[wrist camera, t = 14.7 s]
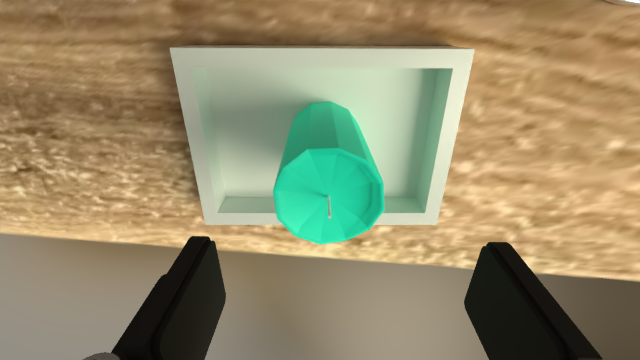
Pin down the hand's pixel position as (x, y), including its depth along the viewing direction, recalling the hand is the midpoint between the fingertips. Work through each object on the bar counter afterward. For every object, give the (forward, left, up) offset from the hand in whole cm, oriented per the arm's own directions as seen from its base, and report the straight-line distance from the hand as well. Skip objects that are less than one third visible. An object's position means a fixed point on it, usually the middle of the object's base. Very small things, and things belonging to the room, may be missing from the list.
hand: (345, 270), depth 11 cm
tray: (0, -1, -17) cm, 17 cm away
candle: (0, 0, -16) cm, 16 cm away
